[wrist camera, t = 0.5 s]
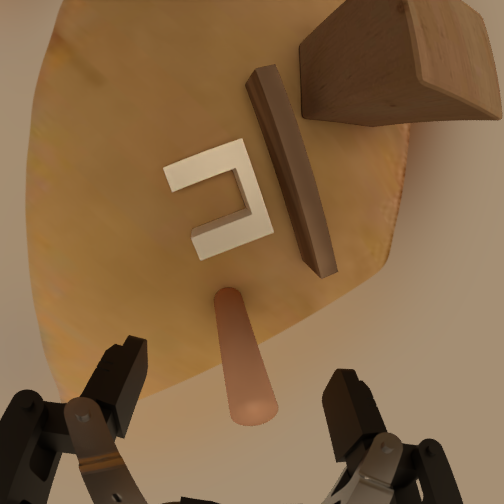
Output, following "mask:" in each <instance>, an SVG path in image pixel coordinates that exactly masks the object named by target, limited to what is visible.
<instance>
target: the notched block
mask: <svg viewBox="0 0 504 504" xmlns="http://www.w3.org/2000/svg"><path fill="white" fill-rule="evenodd" d="M231 169H232V170H233V173H234V175H235V178H236V181H237V184H238V187H239V189H240V192H241V195H242V198H243V201H244V204H245V206H246V208H245V209H242V210H240V211H237V212H234V213H232V214H229V215H226V216H224V217H221V218H219V219H216V220H213V221H211V222H208V223H206V224H203V225H201V226H198V227H196V228H193V229H192V233H191V240H192V242H193V245H194V247H195V249H196V252H197V254H198V256H199V259H200V261H201V260H204V259H207V258H209V257H212V256H214V255H217V254H219V253H222V252H225V251H227V250H230V249H232V248H235V247H238V246H240V245H243V244H245V243H248V242H251V241H253V240H256V239H258V238H261V237H264V236H266V235H269V234H272V233H274V231H273V228H272V225H271V221H270V218H269V215H268V212H267V209H266V206H265V203H264V200H263V197H262V194H261V191H260V189H259V186H258V183H257V180H256V177H255V174H254V171H253V168H252V165H251V162H250V159H249V156H248V154H247V151H246V148H245V145H244V142H243V139H242V138H241V139H238V140H235V141H232V142H229V143H226V144H224V145H221V146H218V147H215V148H212V149H210V150H207V151H204V152H201V153H199V154H196V155H194V156H191V157H188V158H186V159H183V160H181V161H178V162H176V163H173V164H171V165H169V166H166V167H164V168H163V170H164V172H165V175H166V178H167V180H168V183H169V185H170V188H171V191H172V192H174V191H177V190H179V189H182V188H184V187H187V186H189V185H192V184H194V183H197V182H199V181H202V180H204V179H207V178H210V177H212V176H215V175H218V174H220V173H223V172H226V171H229V170H231Z"/></svg>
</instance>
